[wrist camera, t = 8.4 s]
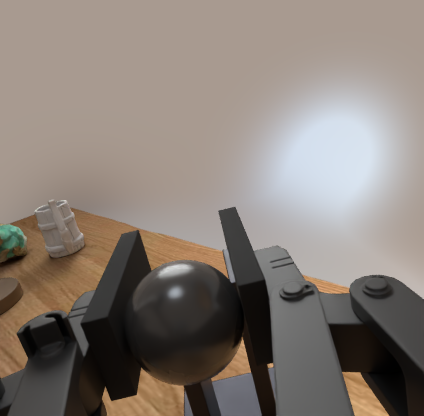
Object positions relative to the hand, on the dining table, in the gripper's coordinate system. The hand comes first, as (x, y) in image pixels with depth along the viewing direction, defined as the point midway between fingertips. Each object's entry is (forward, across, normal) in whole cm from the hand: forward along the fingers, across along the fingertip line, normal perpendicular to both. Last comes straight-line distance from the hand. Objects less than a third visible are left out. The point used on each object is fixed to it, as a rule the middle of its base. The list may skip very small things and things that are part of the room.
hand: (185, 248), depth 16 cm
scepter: (+67, -50, -18) cm, 85 cm away
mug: (+55, -29, -18) cm, 65 cm away
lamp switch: (-2, 0, -4) cm, 4 cm away
